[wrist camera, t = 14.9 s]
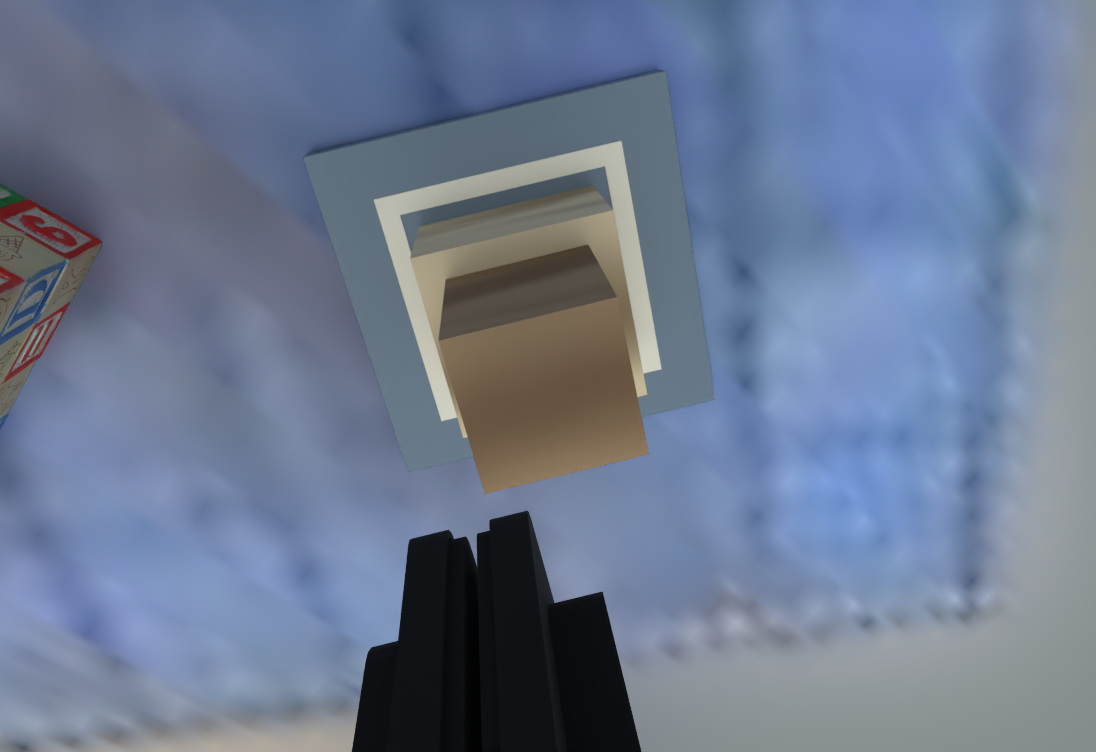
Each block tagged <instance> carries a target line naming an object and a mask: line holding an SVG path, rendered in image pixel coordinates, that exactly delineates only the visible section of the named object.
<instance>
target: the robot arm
mask: <svg viewBox="0 0 1096 752" xmlns="http://www.w3.org/2000/svg"><path fill="white" fill-rule="evenodd" d="M352 752H641V748H640V744H639V740H638V736H637V732H636V728H635V724H634V719H633V715H632V711H631V707H630V703H629V699H628V695H627V690H626V686H625V682H624V678H623V674H622V670H621V666H620V661H619V657H618V653H617V649H616V645H615V641H614V637H613V633H612V629H611V624H610V620H609V616H608V612H607V608H606V604H605V600H604V596H603V592H599V593H595V594H590V595H586V596H582V597H578V598H574V599H570V600H566V601H562V602H557V603H554V600H553V596H552V593H551V589H550V586H549V582H548V578H547V575H546V571H545V568H544V564H543V560H542V557H541V553H540V550H539V546H538V542H537V539H536V535H535V532H534V528H533V524H532V521H531V518H530V515H529V512H528V511H524V512H520V513H516V514H512V515H508V516H504V517H500V518H495V519H491V520H490V531H486V532H482V533H478V534H477V565H476V562H475V559H474V556H473V553H472V550H471V547H470V544H469V541H468V539H467V537H462V538H457V539H454V538H453V535H452V533H451V532H450V531H449V530H446V531H442V532H438V533H434V534H429V535H425V536H421V537H417V538H413V539H411V540H409V545H408V554H407V563H406V572H405V582H404V591H403V601H402V610H401V619H400V629H399V638H398V641H396V642H392V643H388V644H384V645H380V646H376V647H372V648H371V649H370V650H369V652H368V655H367V659H366V663H365V670H364V676H363V683H362V689H361V696H360V702H359V709H358V715H357V722H356V728H355V735H354V741H353V748H352Z"/></svg>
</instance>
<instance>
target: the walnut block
mask: <svg viewBox="0 0 1096 752" xmlns="http://www.w3.org/2000/svg"><path fill="white" fill-rule="evenodd" d="M438 341H439V344H440V348H441V351H442V354H443V358H444V361H445V364H446V367H447V371H448V374H449V377H450V381H451V384H452V387H453V391H454V394H455V397H456V400H457V404H458V407H459V410H460V414H461V417H462V420H463V423H464V427H465V430H466V433H467V437H468V440H469V443H470V447H471V450H472V453H473V456H474V460H475V463H476V466H477V470H478V473H479V476H480V479H481V483H482V486H483V489H484V493H485V494H486V493H491V492H495V491H499V490H503V489H507V488H511V487H515V486H519V485H524V484H528V483H532V482H536V481H540V480H544V479H548V478H552V477H557V476H561V475H565V474H569V473H573V472H577V471H581V470H586V469H590V468H594V467H598V466H602V465H606V464H610V463H614V462H619V461H623V460H627V459H631V458H635V457H639V456H643V455H647V454H649V452H648V447H647V442H646V437H645V432H644V427H643V422H642V417H641V412H640V407H639V402H638V397H637V392H636V387H635V382H634V377H633V372H632V367H631V362H630V357H629V352H628V348H627V343H626V338H625V333H624V328H623V323H622V318H621V313H620V308H619V303H618V298H617V295H616V294H615V292H614V290H613V288H612V286H611V285H610V283H609V281H608V279H607V277H606V276H605V274H604V272H603V270H602V268H601V266H600V265H599V263H598V261H597V259H596V257H595V256H594V254H593V252H592V250H591V248H590V247H589V245H584V246H580V247H576V248H572V249H568V250H564V251H560V252H556V253H551V254H547V255H543V256H539V257H535V258H531V259H527V260H523V261H519V262H515V263H511V264H507V265H503V266H498V267H494V268H490V269H486V270H482V271H478V272H474V273H470V274H466V275H462V276H458V277H454V278H449V279H446V280H445V289H444V297H443V306H442V314H441V323H440V331H439V340H438Z"/></svg>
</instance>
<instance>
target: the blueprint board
mask: <svg viewBox="0 0 1096 752" xmlns="http://www.w3.org/2000/svg"><path fill="white" fill-rule="evenodd" d="M303 159H304V162H305V165H306V168H307V171H308V174H309V177H310V180H311V183H312V186H313V189H314V192H315V195H316V198H317V201H318V204H319V207H320V210H321V213H322V216H323V219H324V222H325V225H326V228H327V231H328V234H329V237H330V240H331V243H332V246H333V249H334V252H335V255H336V258H337V261H338V264H339V267H340V270H341V273H342V276H343V279H344V282H345V285H346V288H347V291H348V294H349V297H350V300H351V302H352V305H353V308H354V311H355V314H356V317H357V320H358V323H359V326H360V329H361V332H362V335H363V338H364V341H365V344H366V347H367V350H368V353H369V356H370V359H371V362H372V365H373V368H374V371H375V374H376V377H377V380H378V383H379V386H380V389H381V392H382V395H383V398H384V401H385V404H386V407H387V410H388V413H389V416H390V419H391V422H392V425H393V428H394V431H395V434H396V437H397V440H398V443H399V446H400V449H401V452H402V455H403V458H404V461H405V464H406V466H407V469H408V472H411V471H415V470H419V469H423V468H428V467H432V466H436V465H440V464H445V463H449V462H453V461H457V460H462V459H466V458H470V457H474V456H473V453H472V450H471V447H470V443H469V440H468V437H466V438H463V435H462V432H461V429H460V425H459V422H458V419H457V415H456V412H455V408H454V405H453V402H452V398H451V395H450V392H449V388H448V385H447V382H446V378H445V375H444V371H443V368H442V365H441V361H440V358H439V355H438V351H437V348H436V344H435V341H434V338H433V334H432V331H431V328H430V324H429V321H428V318H427V314H426V311H425V307H424V304H423V301H422V297H421V294H420V291H419V287H418V284H417V281H416V277H415V274H414V270H413V267H412V264H411V260H410V257H411V253H412V250H413V246H414V243H415V239H416V236H417V233H418V229H419V226H422V225H427V224H431V223H435V222H439V221H443V220H448V219H452V218H456V217H460V216H464V215H469V214H473V213H477V212H481V211H486V210H490V209H494V208H498V207H502V206H507V205H511V204H515V203H519V202H523V201H528V200H532V199H536V198H540V197H544V196H549V195H553V194H557V193H561V192H565V191H570V190H574V189H578V188H582V187H586V186H591V185H593V186H594V187H595V188H596V190H597V191H598V192H599V193H600V195H601V196H602V197H603V198H604V200H605V201H606V202H607V203H608V205H609V206H610V207H611V208H612V210H613V213H614V218H615V224H616V229H617V234H618V240H619V245H620V250H621V256H622V261H623V267H624V272H625V277H626V283H627V288H628V293H629V299H630V304H631V310H632V315H633V320H634V326H635V331H636V336H637V342H638V347H639V353H640V358H641V363H642V369H643V374H644V379H645V385H646V390H647V395H644V396H640V397H638V402H639V407H640V412H641V417H644V416H648V415H652V414H657V413H661V412H665V411H669V410H674V409H678V408H682V407H686V406H691V405H695V404H699V403H703V402H708V401H712V400H715V399H714V392H713V385H712V379H711V372H710V365H709V358H708V352H707V345H706V338H705V332H704V325H703V318H702V311H701V305H700V298H699V291H698V285H697V278H696V271H695V264H694V258H693V251H692V244H691V238H690V231H689V224H688V217H687V211H686V204H685V197H684V191H683V184H682V177H681V170H680V164H679V157H678V150H677V143H676V137H675V130H674V123H673V117H672V110H671V103H670V96H669V90H668V83H667V76H666V71H664V70H655V71H651V72H647V73H643V74H639V75H634V76H630V77H626V78H622V79H618V80H613V81H609V82H605V83H601V84H597V85H592V86H588V87H584V88H580V89H576V90H572V91H567V92H563V93H559V94H555V95H551V96H546V97H542V98H538V99H534V100H530V101H526V102H521V103H517V104H513V105H509V106H505V107H500V108H496V109H492V110H488V111H484V112H479V113H475V114H471V115H467V116H463V117H459V118H454V119H450V120H446V121H442V122H438V123H433V124H429V125H425V126H421V127H417V128H413V129H408V130H404V131H400V132H396V133H392V134H387V135H383V136H379V137H375V138H371V139H366V140H362V141H358V142H354V143H350V144H346V145H341V146H337V147H333V148H329V149H325V150H320V151H316V152H312V153H309V154H307V155H306V156H304V157H303Z"/></svg>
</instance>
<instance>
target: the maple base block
mask: <svg viewBox="0 0 1096 752" xmlns="http://www.w3.org/2000/svg"><path fill="white" fill-rule="evenodd" d="M584 245H589V247H590V248H591V250H592V252H593V254H594V256H595V257H596V259H597V261H598V263H599V265H600V266H601V268H602V270H603V272H604V274H605V276H606V277H607V279H608V281H609V283H610V285H611V286H612V288H613V290H614V292H615V294H616V295H617V298H618V303H619V308H620V313H621V318H622V323H623V328H624V333H625V338H626V343H627V348H628V352H629V357H630V362H631V367H632V372H633V377H634V382H635V387H636V392H637V397H640V396H644V395H647V390H646V385H645V379H644V374H643V369H642V363H641V358H640V353H639V347H638V342H637V336H636V331H635V326H634V320H633V315H632V310H631V304H630V299H629V293H628V288H627V283H626V277H625V272H624V267H623V261H622V256H621V250H620V245H619V240H618V234H617V229H616V224H615V218H614V213H613V210H612V208H611V207H610V206H609V205H608V203H607V202H606V201H605V200H604V198H603V197H602V196H601V195H600V193H599V192H598V191H597V190H596V188H595V187H594V186H593V185H591V186H586V187H582V188H578V189H574V190H570V191H565V192H561V193H557V194H553V195H549V196H544V197H540V198H536V199H532V200H528V201H523V202H519V203H515V204H511V205H507V206H502V207H498V208H494V209H490V210H486V211H481V212H477V213H473V214H469V215H464V216H460V217H456V218H452V219H448V220H443V221H439V222H435V223H431V224H427V225H422V226H419V229H418V233H417V236H416V239H415V243H414V246H413V250H412V253H411V257H410V260H411V264H412V267H413V270H414V274H415V277H416V281H417V284H418V287H419V291H420V294H421V297H422V301H423V304H424V307H425V311H426V314H427V318H428V321H429V324H430V328H431V331H432V334H433V338H434V341H435V344H436V348H437V351H438V355H439V358H440V361H441V365H442V368H443V371H444V375H445V378H446V382H447V385H448V388H449V392H450V395H451V398H452V402H453V405H454V408H455V412H456V415H457V419H458V422H459V425H460V429H461V432H462V435H463V438H466V437H467V433H466V430H465V427H464V423H463V420H462V417H461V414H460V410H459V407H458V404H457V400H456V397H455V394H454V391H453V387H452V384H451V381H450V377H449V374H448V371H447V367H446V364H445V361H444V358H443V354H442V351H441V348H440V344H439V341H438V340H439V331H440V323H441V314H442V306H443V297H444V289H445V280H446V279H449V278H454V277H458V276H462V275H466V274H470V273H474V272H478V271H482V270H486V269H490V268H494V267H498V266H503V265H507V264H511V263H515V262H519V261H523V260H527V259H531V258H535V257H539V256H543V255H547V254H551V253H556V252H560V251H564V250H568V249H572V248H576V247H580V246H584Z"/></svg>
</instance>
